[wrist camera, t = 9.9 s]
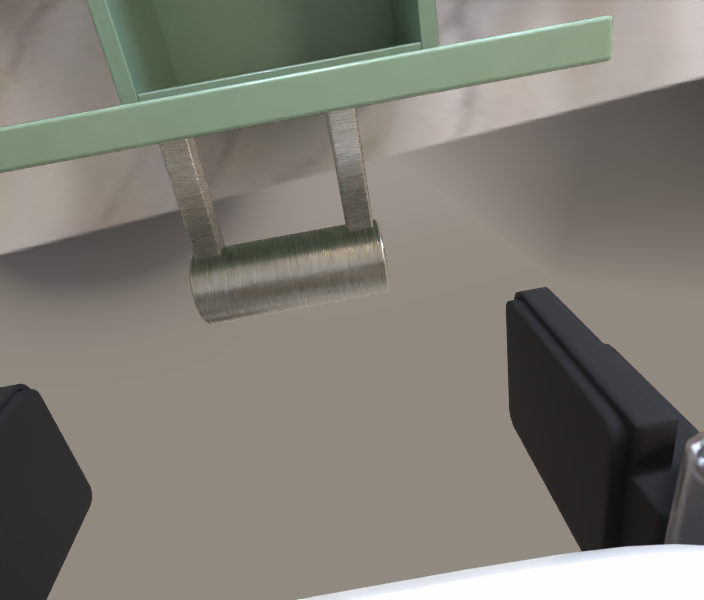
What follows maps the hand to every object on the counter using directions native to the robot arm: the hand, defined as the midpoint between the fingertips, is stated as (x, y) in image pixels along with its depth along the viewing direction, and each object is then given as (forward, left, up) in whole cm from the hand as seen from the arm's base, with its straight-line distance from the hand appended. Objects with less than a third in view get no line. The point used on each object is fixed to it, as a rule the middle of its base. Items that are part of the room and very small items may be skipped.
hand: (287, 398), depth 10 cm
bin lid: (-6, 0, -9) cm, 11 cm away
